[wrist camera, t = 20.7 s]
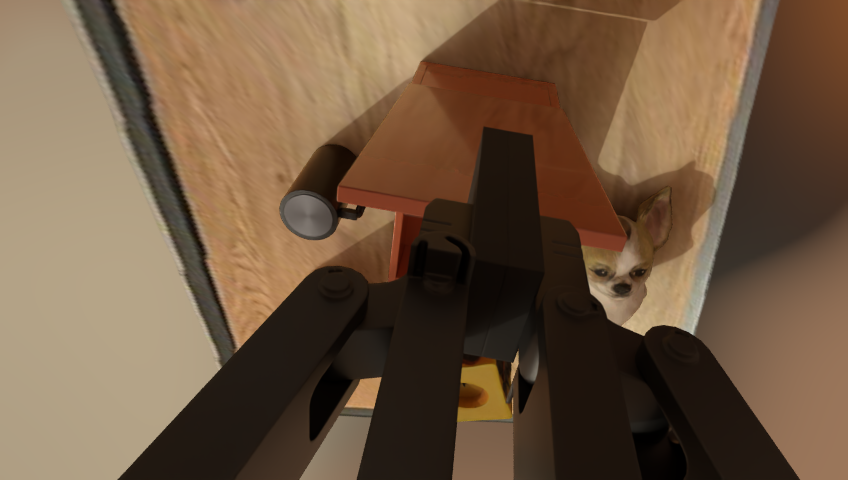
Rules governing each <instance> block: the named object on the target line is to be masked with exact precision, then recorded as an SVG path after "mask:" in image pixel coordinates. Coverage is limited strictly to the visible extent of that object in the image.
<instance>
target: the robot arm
mask: <svg viewBox="0 0 848 480" xmlns="http://www.w3.org/2000/svg"><path fill="white" fill-rule="evenodd" d="M518 348H519V365H518V367H517V370H516V373H515V376H514V379H513V381H512V384H511V387H510V390H509V392H508V395H507V399H506V403H508V404H510V403H511V401H512V398H513V427H514V428H513V429H514V430H513V431H514V432H513V434H514V435H513V438H514V439H513V441H514V480H800V479H799V478H798V476H797V475H796V473H795V472H794V470H793V469H792V467H791V466H790V465H789V463H788V462H787V460H786V459H785V457H784V456H783V455H782V453H781V452H780V450H779V449H778V447H777V446H776V445H775V443H774V442H773V440H772V439H771V437H770V436H769V434H768V433H767V432H766V430H765V429H764V427H763V426H762V424H761V423H760V422H759V420H758V419H757V417H756V416H755V414H754V413H753V411H752V410H751V409H750V407H749V406H748V405H747V403H746V402H745V400H744V399H743V397H742V396H741V394H740V393H739V391H738V390H737V388H736V387H735V386H734V384H733V383H732V381H731V380H730V378H729V377H728V376H727V374H726V373H725V371H724V370H723V368H722V367H721V366H720V364H719V363H718V361H717V360H716V358H715V357H714V355H713V354H712V353H711V351H710V350H709V349H708V348H707V347H706V346H705V345H704V343H703V342H702V341H701V340H699V339H698V338H696V337H695V336H693V335H692V334H690V333H689V332H687V331H684V330H682V329H679V328H677V327H672V326H666V325H661V326H655V327H652V328H651V329H650V330H648V331H647V332H646V334H645V336H642V335H640V334H638V333H635V332H633V331H631V330H628V329H626V328H623V327H621V326H619V325H617V324H615V323H614V322H612V321H611V320H609V319H608V318H607V314H606V311H605V309H604V307H603V305H602V303H601V302H600V301H599V300H598V299H597V298H596V297H595V296H593V295H592V294H591V293H590V288H589V283H588V277H587V272H586V267H585V262H584V259H583V251H582V248H581V241H580V236H579V233H578V231H577V230H576V229H575V227H574V226H573V225H572V224H571V222H570V221H569V220H564V219H558V218H553V217H547V216H542V215H540V212H539V200H538V189H537V178H536V167H535V156H534V144H533V135H529V134H524V133H518V132H512V131H507V130H501V129H495V128H490V127H484V126H483V131H482V136H481V140H480V145H479V150H478V155H477V159H476V164H475V169H474V173H473V178H472V183H471V188H470V192H469V197H468V202H467V203H462V202H457V201H451V200H446V199H440V198H435V199H434V200H433V201H432V202H430V203H429V204H428V205H427V206H426V207H425V211H424V215H423V220H422V224H421V228H420V232H419V236H418V237H416V238H415V239H414V241H413V242H412V244H411V249H410V256H409V263H408V270H407V273H406V274H405V275H404V276H402V277H400V278H399V279H397V280H394V281H390V282H385V283H374V284H368V281H367V280H366V279H365V278H364V276H363V275H362V274H361V273H359V272H357V271H355V270H353V269H351V268H347V267H342V266H327V267H324V268H321V269H317V270H315V271H314V272H312V273H311V274H309V275H308V276H307V277H306V278H305V279H304V280H303V281H302V282H301V283H300V284H299V285H298V286H297V287H296V288H295V290H294V291H293V292H292V293H291V294H290V295H289V296H288V297H287V298H286V299H285V300H284V301H283V302H282V304H281V305H280V306H279V307H278V308H277V309H276V310H275V311H274V312H273V313H272V314H271V315H270V316H269V317H268V319H267V320H266V321H265V322H264V323H263V324H262V325H261V326H260V327H259V328H258V329H257V330H256V331H255V333H254V334H253V335H252V336H251V337H250V338H249V339H248V340H247V341H246V342H245V343H244V344H243V345H242V347H241V348H240V349H239V350H238V351H237V352H236V353H235V354H234V355H233V356H232V357H231V358H230V359H229V360H228V362H227V363H226V364H225V365H224V366H223V367H222V368H221V369H220V370H219V371H218V372H217V373H216V374H215V376H214V377H213V378H212V379H211V380H210V381H209V382H208V383H207V384H206V385H205V386H204V388H202V390H201V391H200V392H199V393H198V394H197V395H196V396H195V397H194V398H193V399H192V400H191V401H190V402H189V404H188V405H187V406H186V407H185V408H184V409H183V410H182V411H181V412H180V413H179V414H178V415H177V416H176V417H175V419H174V420H173V421H172V422H171V423H170V424H169V425H168V426H167V427H166V428H165V429H164V430H163V431H162V433H161V434H160V435H159V436H158V437H157V438H156V439H155V440H154V441H153V442H152V443H151V445H149V446H148V448H147V449H146V450H145V451H144V452H143V453H142V454H141V455H140V456H139V457H138V458H137V459H136V461H135V462H134V463H133V464H132V465H131V466H130V467H129V468H128V469H127V470H126V472H124V473H123V474H122V476H121V477H120V478H119V479H118V480H299V479H300V477H301V476H302V474H303V472H304V471H305V469H306V468H307V466H308V465H309V463H310V461H311V460H312V458H313V457H314V455H315V453H316V452H317V450H318V449H319V447H320V445H321V444H322V442H323V440H324V439H325V437H326V435H327V434H328V432H329V431H330V429H331V428H332V426H333V424H334V422H335V421H336V420H337V418H338V416H339V415H340V413H341V411H342V410H343V408H344V407H345V405H346V403H347V402H348V400H349V399H350V397H351V395H352V394H353V392H354V391H355V389H356V387H357V386H358V384H359V381H360V379H366V378H377V377H382V378H381V382H380V387H379V391H378V395H377V399H376V403H375V407H374V411H373V415H372V419H371V423H370V427H369V431H368V436H367V440H366V444H365V448H364V452H363V456H362V460H361V464H360V468H359V472H358V476H357V480H452V473H453V462H454V451H455V439H456V428H457V417H458V406H459V395H460V384H461V373H462V362H463V353H465V354H470V355H475V356H480V357H486V358H491V359H496V360H501V361H507V362H512V363H513V362H514V359H515V357H516V354H517V351H518Z"/></svg>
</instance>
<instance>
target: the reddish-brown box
mask: <svg viewBox="0 0 848 480" xmlns="http://www.w3.org/2000/svg"><path fill="white" fill-rule="evenodd" d="M411 83H413V84H419V85H424V86H430V87H436V88H442V89H448V90H454V91H460V92H465V93H471V94H477V95H483V96H489V97H495V98H501V99H506V100H512V101H518V102H524V103H530V104H536V105H542V106H548V107H553V108H559V109H561V108H560V104H559V99H558V94H557V90H556V85H555V84H554V83H548V82H542V81H536V80H530V79H524V78H518V77H512V76H507V75H501V74H495V73H489V72H483V71H477V70H471V69H465V68H459V67H453V66H447V65H441V64H436V63H430V62H424V61H421V62H420V64H419V66H418V69H417V71H416V73H415V75H414V77H413V80H412V82H411ZM422 220H423V217H421V216H416V215H410V214H405V213H399V212H396V213H395V222H394V231H393V240H392V249H391V258H390V267H389V276H388V282H390V281H394V280H397V279H399V278H400V277H402V276H404V275H405V274H406V273H407V270H408V263H409V256H410V249H411V244H412V242H413V241H414V239H415V238H416V237H418V236H419V232H420V228H421V224H422Z"/></svg>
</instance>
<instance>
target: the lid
mask: <svg viewBox="0 0 848 480" xmlns="http://www.w3.org/2000/svg"><path fill="white" fill-rule="evenodd" d="M483 126H484V127H490V128H495V129H501V130H507V131H512V132H518V133H524V134H529V135H533V144H534V156H535V167H536V178H537V189H538V200H539V212H540V215H542V216H547V217H553V218H558V219H564V220H569V221H570V222H571V224H572V225H573V226H574V227H575V229H576V230H577V231H578V233H579V236H580V241H581V245H583V246H589V247H594V248H600V249H606V250H611V251H617V252H622V251H623V249H624V246H625V244H626V241H627V235H626V233H625V231H624V229H623V227H622V225H621V223H620V221H619V219H618V217H617V215H616V213H615V211H614V209H613V207H612V205H611V203H610V201H609V199H608V197H607V195H606V193H605V191H604V189H603V187H602V185H601V183H600V181H599V179H598V177H597V175H596V173H595V172H594V170H593V168H592V166H591V164H590V162H589V160H588V158H587V156H586V154H585V152H584V150H583V148H582V146H581V144H580V142H579V140H578V138H577V136H576V134H575V132H574V130H573V128H572V126H571V124H570V122H569V120H568V118H567V116H566V114H565V112H564V110H563V109H559V108H553V107H548V106H542V105H536V104H530V103H524V102H518V101H512V100H506V99H501V98H495V97H489V96H483V95H477V94H471V93H465V92H460V91H454V90H448V89H442V88H436V87H430V86H424V85H419V84H413V83H409V84H408V86H407V87H406V89H405V90H404V92H403V93H402V94H401V96H400V97H399V99H398V100H397V102H396V103H395V104H394V106H393V107H392V109H391V110H390V112H389V113H388V115H387V116H386V117H385V119H384V120H383V122H382V123H381V125H380V126H379V127H378V129H377V130H376V132H375V133H374V135H373V136H372V138H371V139H370V140H369V142H368V143H367V145H366V146H365V148H364V149H363V150H362V152H361V153H360V155H359V156H358V158H357V159H356V160H355V162H354V163H353V165H352V166H351V168H350V169H349V171H348V172H347V173H346V175H345V176H344V178H343V179H342V181H341V182H340V183H339V185H338V188H337V201H338V202H343V203H349V204H354V205H360V206H365V207H371V208H377V209H382V210H388V211H393V212H399V213H405V214H410V215H416V216H421V217H423V215H424V211H425V207H426V206H427V205H428V204H429V203H430V202H432V201H433V200H434V199H435V198H440V199H446V200H451V201H457V202H462V203H467V202H468V197H469V192H470V188H471V183H472V178H473V173H474V169H475V164H476V159H477V155H478V150H479V145H480V140H481V136H482V131H483Z"/></svg>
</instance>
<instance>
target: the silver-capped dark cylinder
mask: <svg viewBox="0 0 848 480" xmlns="http://www.w3.org/2000/svg"><path fill="white" fill-rule="evenodd" d="M356 159H357V158H356V156H355V155H354V154H353V153H352V152H351V151H350V150H348V149H346V148H344V147H342V146H339V145H325V146H322V147H320V148H318V149H317V150H316V151H315V152H314V153H313V155H312V156H311V158H310V159H309V161H308V162H307V164H306V165H305V167H304V168H303V170H302V171H301V173H300V174H299V175H298V177H297V178H296V180H295V181H294V183H293V184H292V186H291V187H290V189H289V190H288V192H287V193H286V195H285V196H284V198H283V199H282V201H281V203H280V216H281V219H282V221H283V223H284V224H285V225H286V227H287V228H288V229H289V230H290V231H291V232H293V233H294V234H296V235H297V236H299V237H302V238H304V239H308V240H321V239H325V238H327V237H329V236H330V235H332V234H333V233H334V232H335V230H336V228H337V226H338V224H339V222H340V220H341V218H345V219H351V220H357V218H360V217H361V216H362V215H363V212H364V210H365V208H366V207H365V206H360V205H357V207H356V210H355V209H349V208H346V207H347V205H348V203H343V202H338V201H337V188H338V185H339V183H340V182H341V181H342V179H343V178H344V176H345V175H346V173H347V172H348V171H349V169H350V168H351V166H352V165H353V163H354V162H355V160H356Z"/></svg>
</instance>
